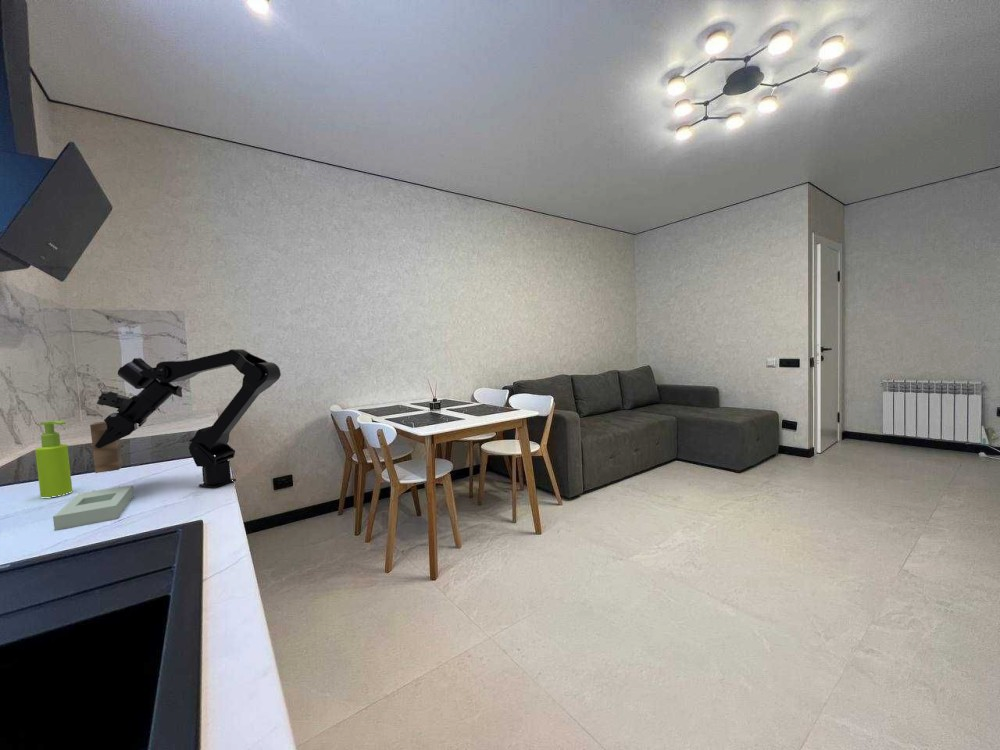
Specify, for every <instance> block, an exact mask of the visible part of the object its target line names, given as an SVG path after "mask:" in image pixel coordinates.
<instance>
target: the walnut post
mask: <svg viewBox="0 0 1000 750" xmlns="http://www.w3.org/2000/svg"><path fill="white" fill-rule="evenodd" d="M89 427H90V436H91V445H92V454H93V463H94V471H95V472H94V473H95V474H98V473H99V474H100V473H106V472H115V471H119V470H120V469H121V468H122V467H123V465H124V464H123V459H122V456H123V455H122V448H121V440H120V439H119V440H116V441H114V442H112V443H110V444H108V445H106V446H103V447H101V448H97V447H95V445H96V444H97V442H98V441H99V439H100V438H101V437H102V435H103V434H104V432H105V431H106V429H107V424H106V422H105V421H98V422H94V423H91V424H89Z"/></svg>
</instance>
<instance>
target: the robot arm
mask: <svg viewBox="0 0 1000 750" xmlns="http://www.w3.org/2000/svg"><path fill="white" fill-rule="evenodd" d="M229 366H233V367H235V368H236V370H237V372H239V373H240V374H242V375H243V378H242V382H241V383H242V384H241V387H240V389H239V390H238V392H237V393H236V394H235V395H234V396H233V398H232V399H231V400H230V402H229V403H228V404H227V406H226V407H225V408H224V409H223V411H222V412H221V414H220V415H219V416H218V417H217V418H216V420H215V421H214V422H213V424H212V425H209V426H207V427H203V428H199V429H198V430H197V431H196V433H195V434H194V436H193V437H192V438H190V439H189V442H190V443H189V445H188V450H189V453H190V455H191V457H192V459H193V461H194V463H195V466H196V467H198V468H199V467H200V468H201V467H202V469H201V471H202V473H201V474H202V481H203V483H199V484H198V487H201V488H212V489H215V488H219V487H222V486H225V485H228V484H231V483H234V482H236V481H237V479H236V478H232V477H231V476H232V475H231V464H230V460H231V459H233V458H234V457H235V453H236V450H235V449H234V448H232V446H230V445H229V442H230V433H232V432H231V431H232V430H233V429H234V428H235V426H236V425H237V424H238V423H239V422H240V420H241V419H242V417H243V416H244V415H245V413H246V412H247V411H248V410H249V408H250V407H251V406H252V404H253V403H254V401H256V399H257V398H258V396H259V395H260V394H262V393H263V392H265V391H266V390H268V389H269V388H270V387H272V386H273V385H274V384H275V383H276V382H277V381H278V380H279V379H280V378H281V375H282V374H281V370H280V367H279V366H278V364H276V363H275V362H270V361H269V362H268V361H267V360H265V359H263V358H261V357H259V356H256V355H254V354H251V353H250V352H248V351H247V350H245V349H241V348H237V349H236V348H233V349H229V350H227V351H223V352H219V353H214V354H211V355H210V354H209V355H205V356H203V357H197V358H193V359H188V360H171V361H169V360H167V361H166V360H165V361H160V362H158V363H157V364H156V366H155V367H152V366H151V365H149V364H148V363H147V362H146V361H145V360H144V359H143V358H141V357H139V358H138V357H137V358H133V359H132V360H131V361H130V362H127V363H125V364H123V366H121V367H119V369H118V371H117V375H118V376H117V377H119V378H121V379H122V380H124V381H125V382H126V383H128V384H129V385H130V386H132V387H133V388H134V389H136V390H140V389H142V390H141V391H140V392H139V393H137V394H136V395H133V396H131V397H128V396H126V395H122V394H119V393H118V392H113V391H102V392H101V394H100V395H99V396H98V399H97V402H96V405H99V406H107V407H110V408H113V409H117V410H116V412H113V413H111V414H109V415H107V417H105V419H103V422H106V424H107V429H106V431H105V432H104V434H103V435H102V437H101V438H100V439H99V441H98V442H97V444H96V445H95V447H97V448H101V447H103V446H106V445H108V444H110V443H112V442H114V441H116V440H119V439H123V438H125V437H127V436H130V435H131V434H132V433H133V432H135V431H137V429H138V427H139V428H141V426H143V425H144V424H145V423H146V422H147V421H148V418H149V417H150V416H151V415H152V414H153V413H154V412H155V411H157V410H158V409H159V408H160V407H161V406H162V405H163V404H164V403H165V402H166V401H167V400H168V399H169V398H170V397H172V396H173V395H174V396H176V397H178V398H182V397H183V392H182V390H183V388H182V387H181V386H179V385H174V384H172V383H176V382H177V383H178V382H185V381H188V380H189V379H192V378H194V377H196V376H197V375H198V374H201V373H204V372H208V371H209V372H210V371H214V370H217V369H221V368H226V367H229ZM232 480H233V482H232Z"/></svg>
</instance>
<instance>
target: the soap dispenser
mask: <svg viewBox="0 0 1000 750" xmlns="http://www.w3.org/2000/svg"><path fill="white" fill-rule="evenodd" d="M67 423H68V422H67V421H64V420H49V421H44V422H40V423H39V425H40V426H43V425H44V432H45V433H43V434H41V435H40V440H41V446H40V447H37V448H35V449H34V450H35V458H36V459H35V460H36V469H37V478H38V484H39V495H40V498H41V497H52V496H58V495H63V494H66V493H69V492H71V491H72V492H73V485H72V475H71V467H70V465H71V464H70V458H69V457H70V456H69V450H68V449H69V448H68V444H66V443H64V444H62V443H61V436H60V432H56V431H55V425H57V426H59V425H65V424H67Z"/></svg>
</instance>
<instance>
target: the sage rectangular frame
mask: <svg viewBox="0 0 1000 750" xmlns="http://www.w3.org/2000/svg"><path fill="white" fill-rule="evenodd" d="M133 485H134V484H130V485H122V486H117V487H111V488H103V489H98V490H93V491H92V490H91V491H86V492H81V493H78V494H77V495H76V496H75V497H74V498H72V499H71V500H70V501H69V502H68V503H67V504H66V505H65V506H63V507H62V508H61V509H59V511H58V512H57V513H55V514H54V515H53V516H52V519H53V520H52V521H53V528H54V531H58V530H64V529H68V528H69V529H70V528H74V527H79V526H80V527H81V526H86V525H90V524H91V525H92V524H96V523H101V522H105V521H112V520H116V519H119V518H120V515H122V513H123V512H124V510H125V509H126V508H127V507H128V505H129V503H130V502H131V501H130V500H132V499H133V498H132V497H134V496H133V495H134V486H133ZM131 498H132V499H131ZM129 501H130V502H129ZM127 504H128V505H127ZM124 508H125V509H124ZM122 511H123V512H122Z"/></svg>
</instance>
